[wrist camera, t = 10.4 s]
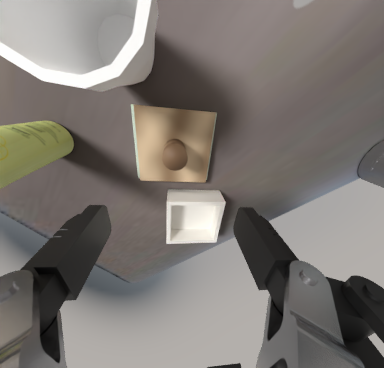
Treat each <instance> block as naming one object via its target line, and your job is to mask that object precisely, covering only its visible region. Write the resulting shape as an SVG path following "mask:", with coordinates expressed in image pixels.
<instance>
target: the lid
mask: <svg viewBox="0 0 384 368" xmlns="http://www.w3.org/2000/svg"><path fill="white" fill-rule="evenodd" d="M134 116H135V127H136V138H137V149H138V160H139V171H140V181H173V182H206V176H207V169H208V163H209V156H210V149H211V143H212V136H213V129H214V123H215V116H216V113H215V112H205V111H194V110H184V109H174V108H163V107H153V106H143V105H134Z"/></svg>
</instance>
